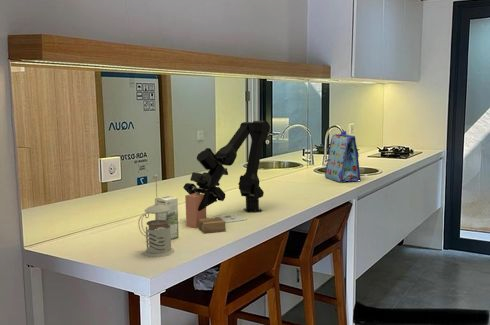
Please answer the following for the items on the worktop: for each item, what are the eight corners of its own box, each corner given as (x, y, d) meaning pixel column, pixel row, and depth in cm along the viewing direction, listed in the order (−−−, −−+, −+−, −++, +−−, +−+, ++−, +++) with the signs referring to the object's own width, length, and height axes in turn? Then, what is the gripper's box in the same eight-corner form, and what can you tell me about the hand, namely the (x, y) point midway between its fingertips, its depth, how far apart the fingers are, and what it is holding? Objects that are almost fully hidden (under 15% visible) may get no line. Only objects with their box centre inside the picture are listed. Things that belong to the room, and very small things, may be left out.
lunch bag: (361, 181, 287) (361, 131, 284) (339, 183, 284) (339, 132, 280) (344, 176, 308) (344, 129, 305) (323, 178, 305) (323, 130, 301)
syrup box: (168, 235, 181) (166, 195, 179) (179, 237, 177) (177, 197, 175) (155, 238, 176) (153, 197, 174) (167, 241, 172) (165, 199, 171)
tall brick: (197, 223, 197) (195, 191, 196) (206, 225, 194) (205, 193, 192) (186, 226, 193) (185, 194, 192) (196, 228, 190) (195, 195, 188)
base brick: (199, 228, 189) (198, 219, 189) (219, 226, 192) (219, 217, 191) (204, 233, 182) (203, 224, 181) (225, 231, 184) (225, 221, 184)
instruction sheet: (214, 216, 207) (214, 216, 207) (233, 214, 212) (233, 213, 212) (226, 222, 197) (226, 221, 197) (247, 219, 201) (247, 218, 201)
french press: (164, 258, 154) (161, 177, 151) (132, 254, 158) (128, 176, 155) (180, 249, 163) (177, 172, 160) (149, 246, 167) (146, 171, 164)
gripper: (185, 162, 200) (165, 194, 193) (219, 166, 187) (198, 199, 180) (201, 179, 206) (181, 210, 200) (234, 184, 194) (214, 217, 187)
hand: (193, 209), depth 192 cm, fingers closed on tall brick, 5 cm apart
